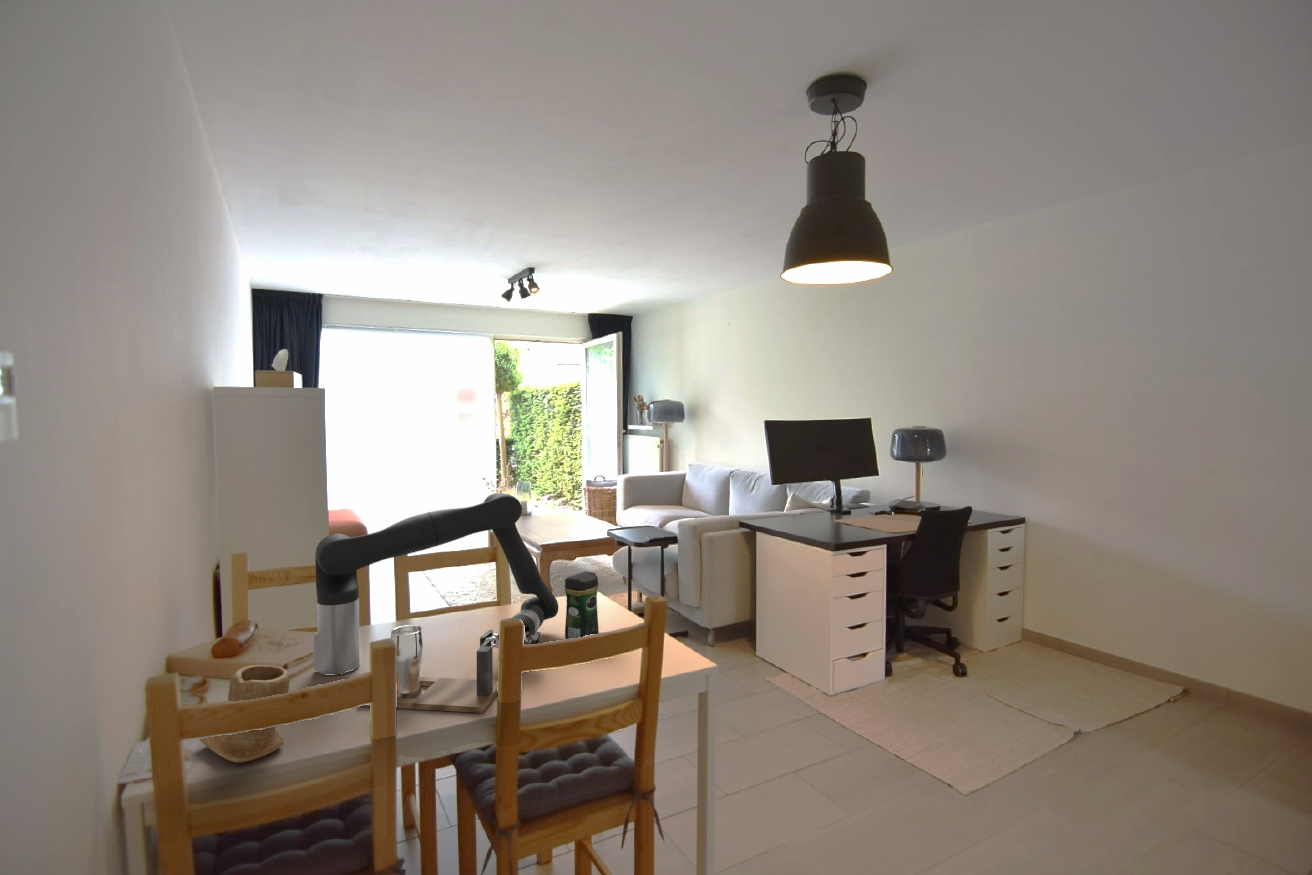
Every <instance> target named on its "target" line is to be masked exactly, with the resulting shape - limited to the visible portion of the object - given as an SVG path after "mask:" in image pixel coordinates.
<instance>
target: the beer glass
mask: <svg viewBox="0 0 1312 875" xmlns="http://www.w3.org/2000/svg"><path fill="white" fill-rule="evenodd" d="M391 639H392V640H394V641H395V643H396V683H397V698H407V699H418V698H419V697H420V696H421V695H422V694H423V692H422V691H423V690H422V686H421V685H420V677H421V670H422V664H423V657H424V635H423V627H422V626H420V625H417V624H409V625H408V624H407V625H401V626H398V627H395V628H393V629H392V630H391V631H390V640H391Z"/></svg>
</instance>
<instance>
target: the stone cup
mask: <svg viewBox="0 0 1312 875" xmlns="http://www.w3.org/2000/svg"><path fill="white" fill-rule="evenodd" d="M290 678H291V677H290V673H289V671H288V670H287V669H286V668H284V667H280V666H277V665H270V664H269V665H266V664H255V665H254V664H253V665H247V666H244V667H242V668H239V669H238V670H237V671H236V672H235V673H234V674H233V676H232V677H231V678H230V681H229V686H228V696H227V702H228V701H239V700H250V699H257V698H262V697H267V696H272V695H277V694H284V693H287V694H288V693H289V689H290ZM198 740H199V741H200V742H201V743H202V744H203V745H204V746H205V747H207V748H208V749H209V750H211V751H212V752H214V753H215V754H217V755H218V756H220V757H222V758H223V759H225V760H228V761H229V762H233V763H237V764H239V763H247V762H250V761H255V760H257V759H259V758H262V757H265V756H267V755H269V754H271V753H273V752H275V751H276V750H278V749H279V748H281V747H282V746H283V744H284V740H283V737H282V736H281V735H280V733H279V732H278V731H277V730H276V726H275V727H271V728H266V729H263V730H251V731H248V732H242V733H237V734H232V735H221V736H214V737H208V738H203V739H199V738H198Z"/></svg>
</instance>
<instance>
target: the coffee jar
mask: <svg viewBox="0 0 1312 875" xmlns="http://www.w3.org/2000/svg"><path fill="white" fill-rule="evenodd" d="M564 579H565V580H564V592H565V594H566V595H565V596H566V610H565V624H564V626H565V627H564V639H565V640H567V639H570V638H578V637H583V636H585V635H590V634H598V633H599V618H598V600H597V599H598V589H599V579H598V576H597V574H596V573H595V572H591V571H586V570H585V571H583V572H580V573H577V574H574V575H571V576H568V577H566V578H564ZM599 634H600V633H599ZM599 634H598V635H599Z"/></svg>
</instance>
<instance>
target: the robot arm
mask: <svg viewBox="0 0 1312 875" xmlns="http://www.w3.org/2000/svg"><path fill="white" fill-rule="evenodd" d="M522 513H523V507H522V503H521V502H520V500H518V498H516V497H515V496H513V495H512V494H508V493H502V492H496V493H492V494H489V495H488V496H487V497H485V499H484V501H483V502H482V503H477V504H474V505H472V506H468V507H459V508H457V507H456V508H447V509H441V510H434V511H429V512H425V513H420V514H417V515H413V516H409V517H407V518H405V519H402V520H400V521H398V522H396V523H394V524H392V525H390V526H388V527H385V528H384V529H381V530H379V531H376V532H371V533H367V534H364V535H363V534H362V535H358V536H357V535H356V536H352V537H351V536H349V535H346V534H344V533H332V534H329V535H326V536H325V537H324V538H322V539H321V540H320V541H319V542H318V544H317V546H316V548H315V549H316V550H315V554H314V555H315V556H314V557H315V562H314V563H315V588H316V589H315V592H316V603H317V604H316V605H317V606H316V610H317V612H316V613H317V619H316V620H317V631H316V632H314V634H313V672H314V671H318V672H319V673H318V672H317V673H318V674H320V673H321V674H320V675H322V674H340V675H342V674H341V673H344V672H346V671H349V670H352V669H355V670H357V669H358V668H359V667H360V659H361V658H360V588H359V581H358V571H359V570H360V569H362V568H366V567H368V566H371V565H374V564H375V563H376V564H377V563H378V562H381V561H384V560H387V559H388V560H389V559H391V558H396V557H397V558H398V557H401V556H405V555H409V554H414V553H417V552H422V551H424V550H429V549H432V548H435V547H438V546H439V547H440V546H442V545H444V544H447V543H451V542H453V541H456V540H459V539H462V538H465V537H467V536H471V535H474V534H477V533H481V532H485V531H492V532H493V534H494V535H495V537H496V539H497V541H498V544H500V547H501V549H502V553H503V554H504V556H505V558H506V561H507V563H508V565H509V569H510V571H511V574H512V576H513V578H514V581H515V584H516V586H517V589H518V590H519V592H520V593H521V594H523V595H534V596H535V597H531V598H527V599H526V600H524V601H522V603H521V605H520V610H519V612H517V613H515V615H513V616H512V617H511V618H510V619H521V620H522V621H523V623H524V625H525V634H524V644H526V645H527V644H537V643H540V644H541V635H542V634H541V631H538V630H539V629H540V628H541V627H542V625H543V623H544V622H545V621H546V620H549V619H553V618H555V617H556V616H557V615H558V612H559V603H558V600H557V598H556V597H555V595H554V594H553V592H552V591H551V590H550V589H549V587H547V585H546V583H545V581H543V579H542V576H541V574H540V572H539V569H538V565H537V564H536V561H535V559H534V558H533V556H532V554H531V552H530V550H529V549H528V547H527V546H526V544H525V542H524V540H523V538H522V537H521V535H520V533H519V531H518V528H517V525H516V523H517V522H518V521H519V519H520V518H521V516H522ZM499 632H500V631H499ZM499 632H496V633H495V632H494V630H493V629H489V630H487V631H486V632H485V633H483V634H482V635H480V637H479V648H480V647H481V646H489V647H492V649H494V648H495V649H500V648H499V644H500V642H499ZM356 668H357V669H356Z"/></svg>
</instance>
